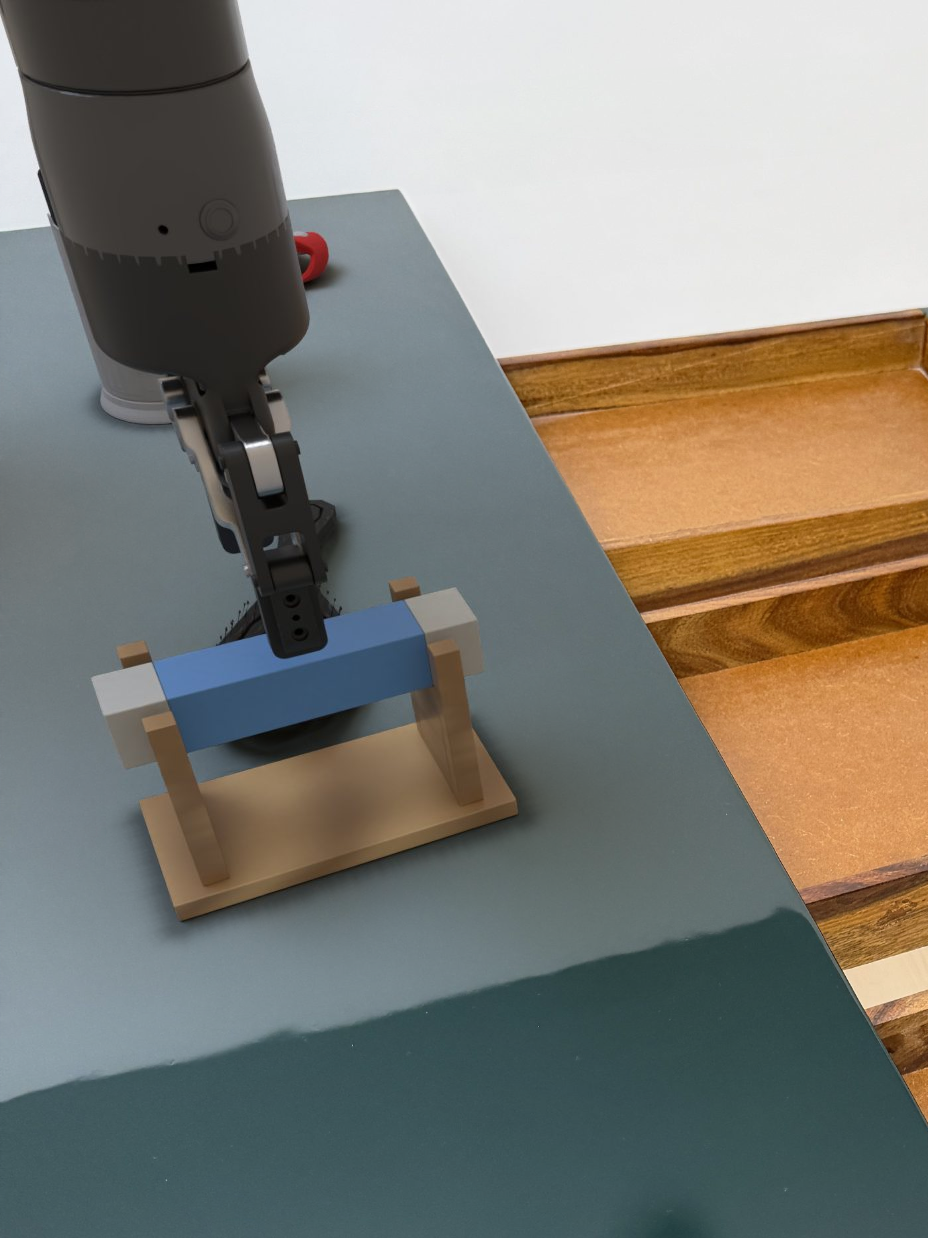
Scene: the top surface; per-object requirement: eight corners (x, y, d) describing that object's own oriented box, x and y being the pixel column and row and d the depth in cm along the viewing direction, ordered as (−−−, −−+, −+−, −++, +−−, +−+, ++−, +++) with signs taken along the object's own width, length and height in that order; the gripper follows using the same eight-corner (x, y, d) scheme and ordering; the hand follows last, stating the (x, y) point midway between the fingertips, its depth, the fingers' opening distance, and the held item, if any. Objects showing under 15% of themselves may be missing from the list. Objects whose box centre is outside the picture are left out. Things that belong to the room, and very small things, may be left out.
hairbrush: (376, 467, 88) (339, 695, 69) (386, 521, 90) (353, 755, 71) (236, 472, 86) (160, 707, 68) (250, 527, 89) (181, 767, 70)
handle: (124, 771, 60) (103, 715, 58) (111, 731, 62) (90, 676, 60) (485, 672, 66) (477, 619, 64) (464, 638, 68) (455, 586, 66)
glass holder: (87, 381, 99) (12, 156, 89) (289, 343, 105) (241, 128, 95) (117, 434, 94) (42, 202, 84) (328, 391, 100) (282, 169, 90)
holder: (179, 922, 63) (112, 751, 56) (143, 815, 68) (77, 646, 61) (518, 814, 70) (495, 649, 63) (464, 723, 74) (436, 561, 68)
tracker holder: (225, 231, 117) (335, 212, 115) (245, 287, 119) (352, 269, 117) (144, 249, 107) (263, 229, 105) (167, 311, 109) (283, 292, 107)
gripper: (23, 150, 52) (146, 534, 63) (94, 301, 43) (222, 714, 54) (235, 129, 55) (316, 499, 66) (339, 266, 46) (413, 665, 57)
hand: (273, 596), depth 60 cm, fingers open, 8 cm apart
